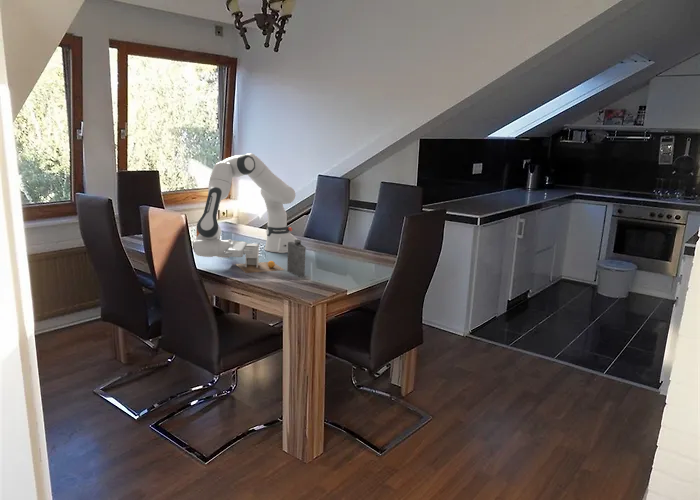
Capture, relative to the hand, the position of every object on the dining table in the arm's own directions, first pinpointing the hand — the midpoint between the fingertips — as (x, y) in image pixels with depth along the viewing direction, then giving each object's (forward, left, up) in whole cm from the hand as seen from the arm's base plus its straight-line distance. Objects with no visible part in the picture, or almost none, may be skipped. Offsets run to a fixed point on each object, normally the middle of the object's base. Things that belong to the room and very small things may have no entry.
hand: (253, 249), depth 274 cm
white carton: (+1, 0, -8) cm, 9 cm away
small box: (+9, -67, -10) cm, 69 cm away
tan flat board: (-2, +3, -10) cm, 10 cm away
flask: (-15, +20, -10) cm, 27 cm away
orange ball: (-7, +6, -7) cm, 11 cm away
